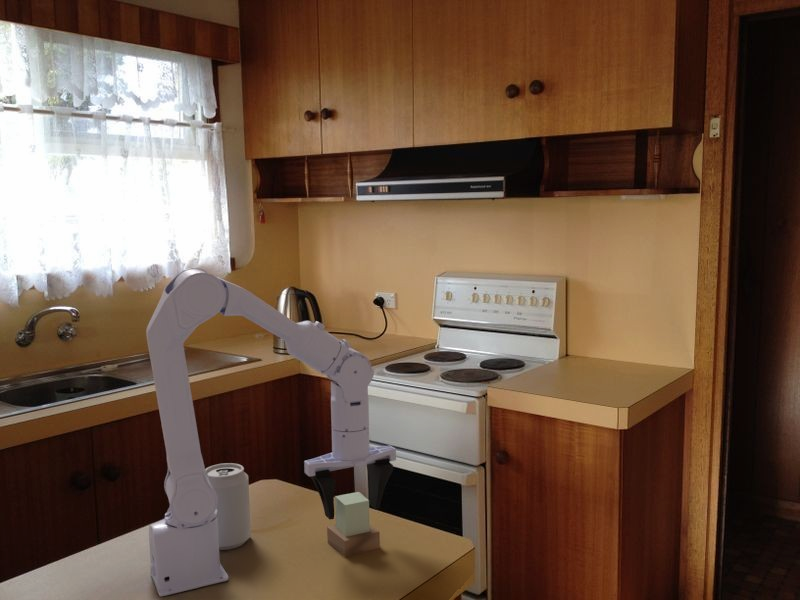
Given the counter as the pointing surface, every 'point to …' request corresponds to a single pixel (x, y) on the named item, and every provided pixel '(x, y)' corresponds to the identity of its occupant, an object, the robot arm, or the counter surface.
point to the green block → (352, 514)
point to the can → (231, 503)
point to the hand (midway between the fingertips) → (352, 511)
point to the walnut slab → (353, 541)
